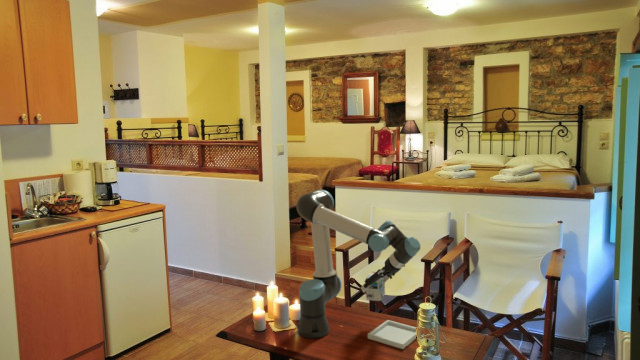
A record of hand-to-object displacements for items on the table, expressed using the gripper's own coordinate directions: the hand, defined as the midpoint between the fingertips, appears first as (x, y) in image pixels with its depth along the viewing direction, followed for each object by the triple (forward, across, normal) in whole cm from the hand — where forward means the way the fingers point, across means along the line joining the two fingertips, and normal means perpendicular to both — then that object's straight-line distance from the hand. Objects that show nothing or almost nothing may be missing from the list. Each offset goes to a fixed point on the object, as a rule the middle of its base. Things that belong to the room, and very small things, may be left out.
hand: (371, 286), depth 240 cm
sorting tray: (+1, -4, -25) cm, 25 cm away
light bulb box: (+1, 0, -5) cm, 5 cm away
